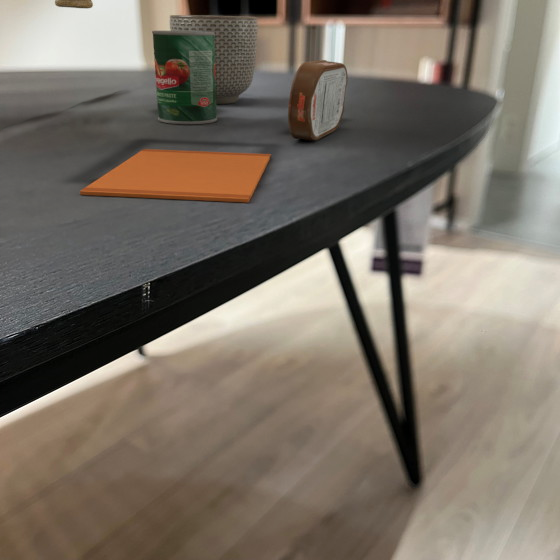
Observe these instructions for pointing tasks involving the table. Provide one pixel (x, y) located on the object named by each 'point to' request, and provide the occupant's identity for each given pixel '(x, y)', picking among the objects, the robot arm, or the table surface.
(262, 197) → the table surface
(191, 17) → the planter
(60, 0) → the spice jar
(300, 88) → the tin
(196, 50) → the canned tomato
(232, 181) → the orange flat rectangular slab
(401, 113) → the table surface
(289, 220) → the table surface
